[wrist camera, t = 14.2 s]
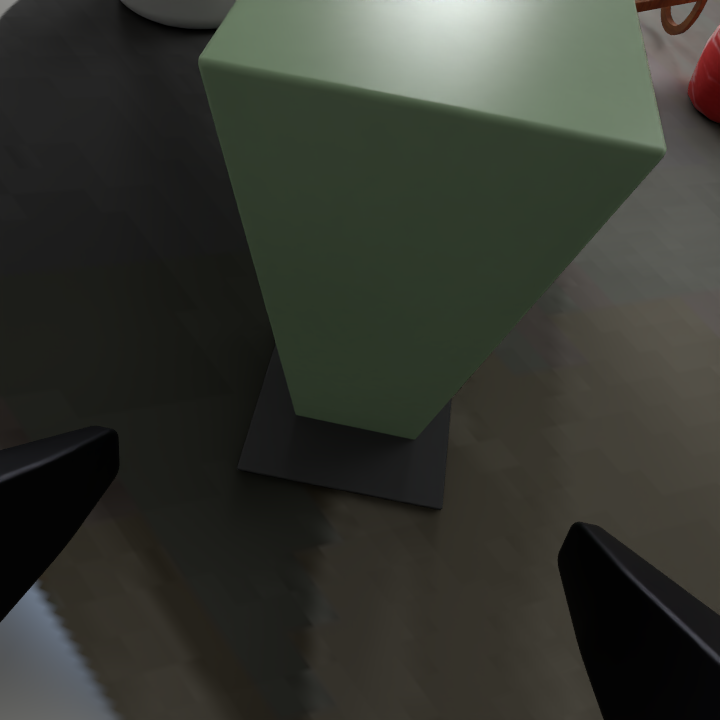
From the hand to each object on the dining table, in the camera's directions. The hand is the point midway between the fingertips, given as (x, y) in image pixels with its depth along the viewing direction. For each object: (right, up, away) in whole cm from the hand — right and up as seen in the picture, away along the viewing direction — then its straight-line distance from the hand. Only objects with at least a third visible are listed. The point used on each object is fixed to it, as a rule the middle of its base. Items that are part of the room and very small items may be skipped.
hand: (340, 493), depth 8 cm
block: (+1, +2, +9) cm, 10 cm away
